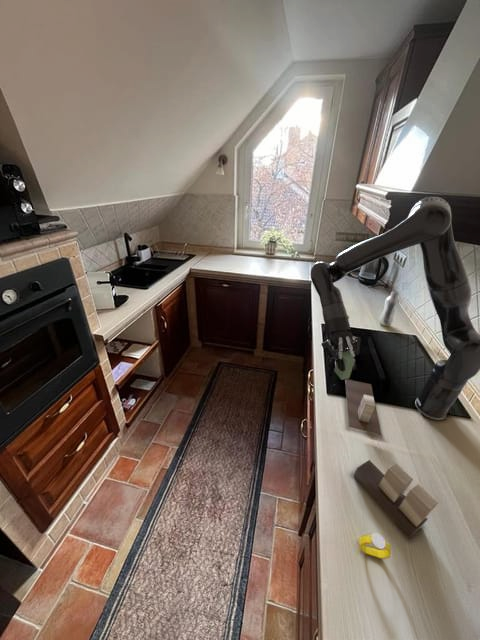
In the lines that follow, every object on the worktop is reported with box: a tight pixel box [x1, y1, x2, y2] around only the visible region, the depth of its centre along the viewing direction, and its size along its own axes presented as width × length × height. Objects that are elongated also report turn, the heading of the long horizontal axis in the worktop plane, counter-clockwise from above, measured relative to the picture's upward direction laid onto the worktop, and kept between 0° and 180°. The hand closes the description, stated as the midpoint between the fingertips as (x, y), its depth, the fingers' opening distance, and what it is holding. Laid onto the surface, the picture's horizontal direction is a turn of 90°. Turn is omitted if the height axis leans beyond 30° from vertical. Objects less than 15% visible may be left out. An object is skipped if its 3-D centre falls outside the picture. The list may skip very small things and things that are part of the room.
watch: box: [358, 532, 392, 560], centre depth 55 cm, size 6×3×6 cm, turn 72°
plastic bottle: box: [378, 290, 401, 327], centre depth 140 cm, size 6×7×20 cm
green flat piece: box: [333, 351, 356, 380], centre depth 83 cm, size 3×4×8 cm
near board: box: [344, 378, 382, 436], centre depth 91 cm, size 24×10×9 cm, turn 163°
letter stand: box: [353, 459, 439, 539], centre depth 63 cm, size 5×16×12 cm, turn 28°
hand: (347, 369), depth 81 cm, fingers closed on green flat piece, 3 cm apart
